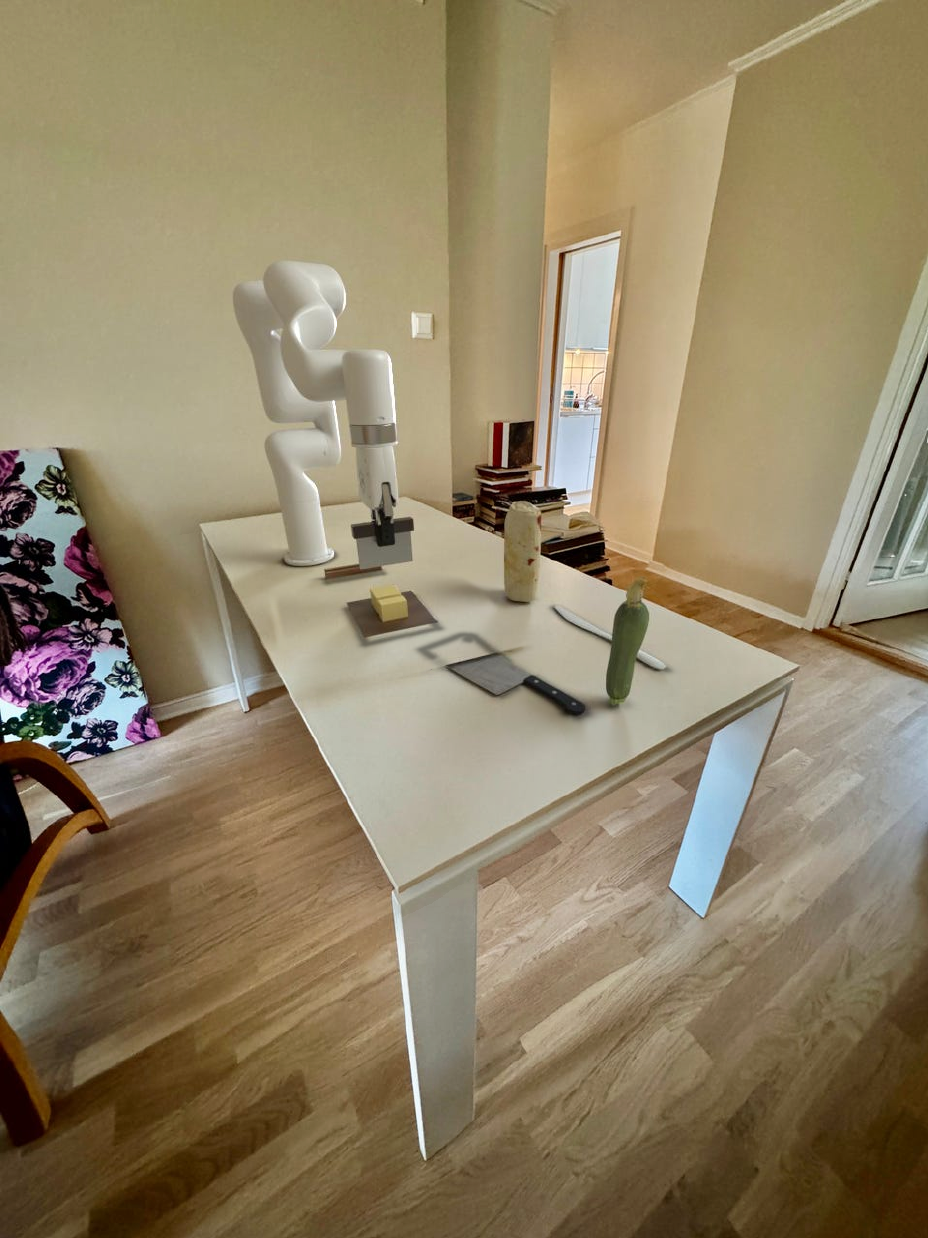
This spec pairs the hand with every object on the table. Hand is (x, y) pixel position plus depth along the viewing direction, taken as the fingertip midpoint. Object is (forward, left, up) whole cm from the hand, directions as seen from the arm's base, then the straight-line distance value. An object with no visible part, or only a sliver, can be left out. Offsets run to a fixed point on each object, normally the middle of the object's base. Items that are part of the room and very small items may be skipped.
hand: (384, 542), depth 87 cm
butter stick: (-3, 0, -14) cm, 15 cm away
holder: (-26, -2, -16) cm, 30 cm away
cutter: (0, 0, -4) cm, 4 cm away
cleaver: (+26, +10, -16) cm, 32 cm away
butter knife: (+23, +33, -16) cm, 43 cm away
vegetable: (+39, +23, -16) cm, 48 cm away
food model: (+1, +28, -16) cm, 32 cm away
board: (-1, 0, -16) cm, 16 cm away
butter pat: (+2, 0, -14) cm, 14 cm away
